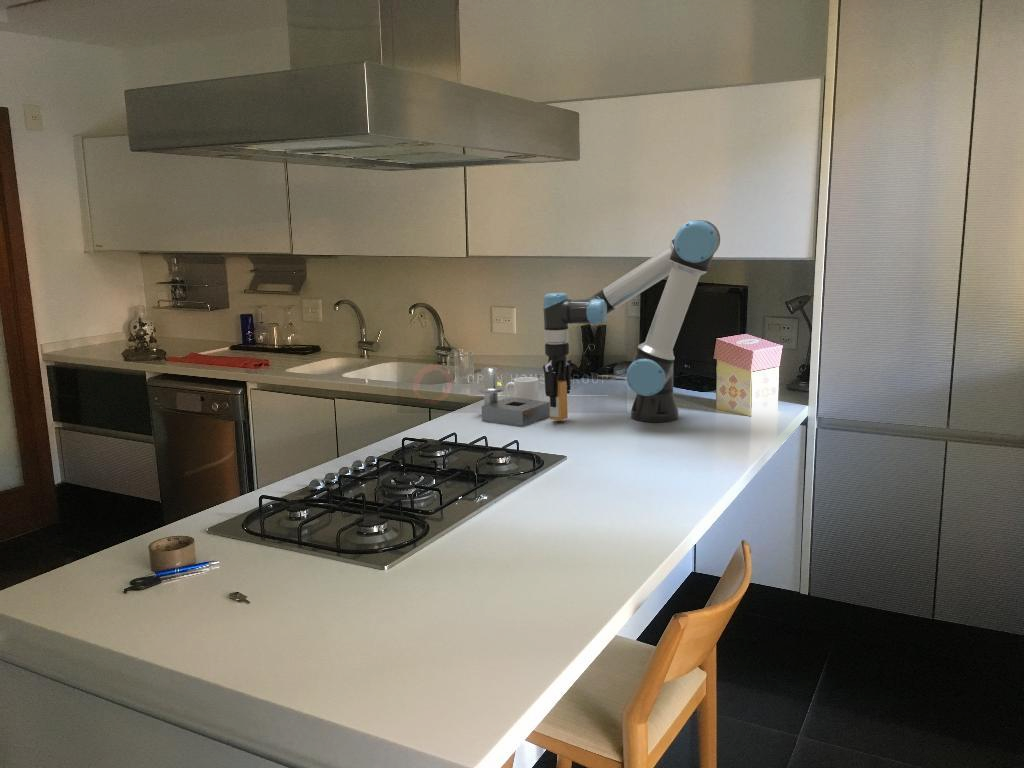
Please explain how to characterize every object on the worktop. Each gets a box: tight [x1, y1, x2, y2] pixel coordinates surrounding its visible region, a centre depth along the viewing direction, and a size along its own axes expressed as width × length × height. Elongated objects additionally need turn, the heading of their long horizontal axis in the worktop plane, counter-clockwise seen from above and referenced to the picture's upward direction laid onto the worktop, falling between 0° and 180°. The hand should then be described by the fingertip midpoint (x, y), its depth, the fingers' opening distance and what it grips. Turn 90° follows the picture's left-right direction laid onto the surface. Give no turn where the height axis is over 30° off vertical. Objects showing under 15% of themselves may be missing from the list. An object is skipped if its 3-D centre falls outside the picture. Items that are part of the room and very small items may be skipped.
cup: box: [504, 376, 540, 401], centre depth 288 cm, size 8×12×10 cm
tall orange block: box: [549, 380, 569, 421], centre depth 266 cm, size 4×4×12 cm
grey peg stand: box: [477, 366, 550, 428], centre depth 273 cm, size 22×16×16 cm
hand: (559, 414), depth 266 cm, fingers closed on tall orange block, 4 cm apart
